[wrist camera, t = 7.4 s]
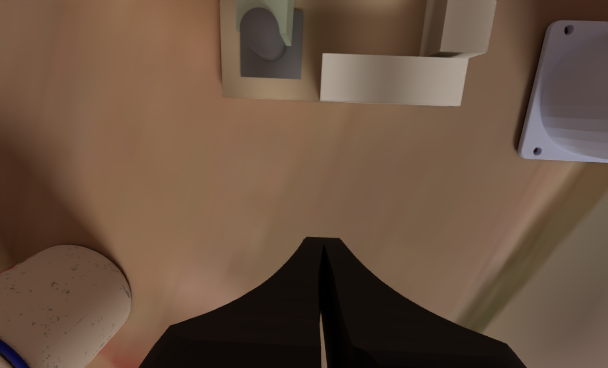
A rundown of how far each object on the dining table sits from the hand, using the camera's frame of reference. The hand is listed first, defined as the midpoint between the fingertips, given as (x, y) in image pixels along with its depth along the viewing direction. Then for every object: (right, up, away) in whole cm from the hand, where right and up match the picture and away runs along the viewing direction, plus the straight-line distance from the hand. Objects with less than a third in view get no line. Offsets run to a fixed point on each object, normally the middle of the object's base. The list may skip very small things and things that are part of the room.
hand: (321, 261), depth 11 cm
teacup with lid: (-19, -7, +13) cm, 25 cm away
